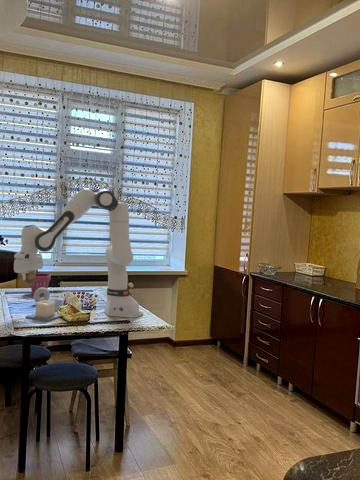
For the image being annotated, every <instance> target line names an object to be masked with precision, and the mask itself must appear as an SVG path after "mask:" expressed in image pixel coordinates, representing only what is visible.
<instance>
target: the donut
mask: <svg viewBox="0 0 360 480" xmlns="http://www.w3.org/2000/svg"><path fill="white" fill-rule="evenodd" d="M41 293H44V294H43V295H44V296H43V297H40V294H41ZM50 297H51V293H50V290H48V288H47V289H46V288H39V289H37V290H36V291H35V293H34V294H33V300H34V301H35V303H37V302H40V301H44V300H45V301H50V299H51V298H50Z"/></svg>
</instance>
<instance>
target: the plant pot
mask: <svg viewBox="0 0 360 480" xmlns="http://www.w3.org/2000/svg"><path fill="white" fill-rule="evenodd" d="M51 279H52V278H51V274H50V273H45V272H44V273H43V272H42V273H41V272H40V273H39V272H38V273H37V272H36V278H35V282H32V283H29V284H30V289H31V290H30V291H31V294H33V295H34V293H35V291H36V290H37V289H39V288H46V289H48V288H49V284H50V281H51ZM40 295H41V296H42V295H44V293H41V294H40ZM40 295H39V296H40Z"/></svg>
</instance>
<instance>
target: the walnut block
mask: <svg viewBox="0 0 360 480" xmlns="http://www.w3.org/2000/svg"><path fill="white" fill-rule="evenodd" d="M36 273H37V272H36ZM36 273H32V271H28V272H26V274H25V275H26V277H27V280H23V276H22V275H21V282H22V283H24V284H30V283H32V282H35V278H36Z"/></svg>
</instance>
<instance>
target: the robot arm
mask: <svg viewBox="0 0 360 480" xmlns="http://www.w3.org/2000/svg"><path fill="white" fill-rule="evenodd" d="M94 206H96V207H98V208H99V209H101V210H106V211H108V213H109V238H110V242H111V245H109V246H108V247H107V248H106V250H105V257H106V265H107V272H108V273H107V274H108V275H107V276H108V277H107V280H108V281H107V289H106V297H107V298H106V304H105V308H104V310H103V313H104V314H105V315H106V316H108V317H109V316H111V317H120V318H121V317H122V318H130V319H134V318H138V317H140V316H142V315H144V312H143V311H142V310H140V305H139V303H138V301H136V300H135V299H134V298H133V297H132V296H131V295H130V294H131V292H132V290H131V289H128V281H129V280H128V278H129V277H128V272H127V267H126V266H129V265H130V264H132V262H133V261H134V253H133V251H132V247H131V241H130V240H131V238H130V213H129V207H128V205H127V203H125V202H123V201H118V199H117V197H116V195H115V194H114V193H113V192H112V190H109V189H101V190H99V191H95V192H94V191H93V190H92V189H90V188H87V187H85V188H82V189H81V190H79V191H78V192H76V194H74V196H73V197H72V198H70V199H69V200H68V201H67V203H66V205H65V206H64V208H63V209H62V211H61V214H60V216H59V217H58V218H57V219H56V221H55V222H54V223H53V224H52V225H51V226H50V227H49V228H48V229H47V230H46V229H44V228H41V227H40V226H38V225H37V224H29V225H25V226H24V227H22V230H21V238H20V241H21V247H20V251H18V252H16V253H15V254H14V255H13V258H14V260H13V261H14V262H13V271H14V273H17V274H21V277H22V276H23V280H27V277H26V275H25V274H26V272H32V273H37V271H38V270H43V268H44V260H43V256H42V253H40V252H49V251H50V250H52V249H53V247H54V246H55V244H56V241H57V239H58V237H59V236H60V235H61V234H62V233H63V232H64V230H66V229H67V228H68V226H70V225H72V224H74V223H75V222H77V221H78V220H80V219H81V218H82V217H83V216H84V215H85V214H86V213H88V211H89V210H90V209H91V208H92V207H94ZM39 251H40V252H39Z"/></svg>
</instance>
